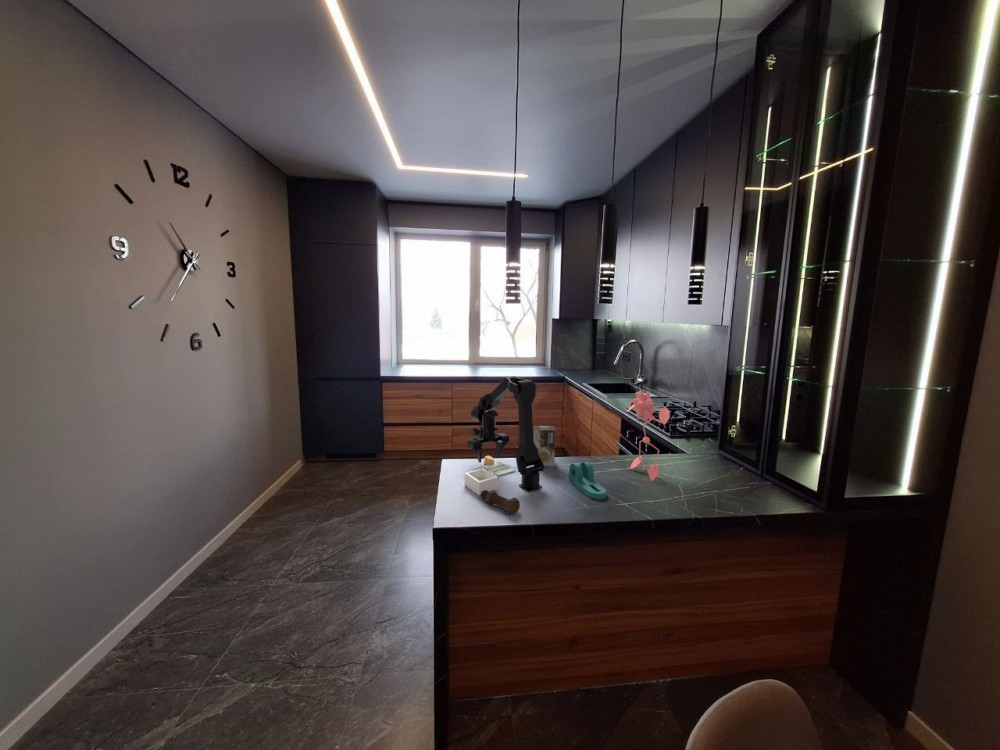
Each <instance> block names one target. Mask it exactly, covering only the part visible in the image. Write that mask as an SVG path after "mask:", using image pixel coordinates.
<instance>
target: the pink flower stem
mask: <svg viewBox="0 0 1000 750" xmlns="http://www.w3.org/2000/svg"><path fill="white" fill-rule="evenodd" d="M631 403H632V405H631V406H630V407H629V408H628V409H627V410H626V411H625V413H628V412H631V410H634V412H635V415H636V418H637V420H640V419H642V420H643V421H644V423H643V424H642V428H643V433H644V437H643V438H642V440H640V441H639V445H638V446H639V449H638V457H636V458H635V459H634V460H633V462H632V463H631V464H630V468H629V469H630V470H633V469H635V468H637V467H638V466H639V465H640V464H641V466H642V468H643V470H644V471H645V470H646V468H645V465H644V463H643V457H642V455H641V443H642V442H643V443H644V444H648V445H650V446H651V447H653V448H654V449H655V450H657V454H656V458H655V462H654V463H653V464H651V465H650V466H649V469H648V477H649V479H650V480H651V482H653V481H654V480H655V479H657V478H658V479H661V477H660V471H659V466H658V465H657V462H658V457H659V453H660V449H659V448H657V447H656V446H654V445H653V444H652V443H650V441H651V439H650V438H649V436H647V434H646V433H647V432H646V429H645V425H646V424H648V423H650V422H651V421H656V422H658V423H661V424H662V425H664V426H665V425H666V424H667V422H668V421H669V420H670V415H671V414H670V410H669V408H667V407H666V406H663V408H660V411H659V412H658V418H659V419H656V417H655V416H653V414H654V413H655V412H656V408H655V407H654V406H653V399H651V394H650V391H646V393H644V392H643V390H641V389H640V390H639V391H636V392H635V398H633V399H632V400H631ZM621 478H622V479H623V480H626V481H628V482H629V480H628V479H626V478H624V477H623V476H621ZM631 483H632V484H634V485H638V486H639V485H640V486H642V484H641V483H636V482H633V481H631ZM643 486H645V487H647V485H645V484H643Z"/></svg>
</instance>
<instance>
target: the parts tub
mask: <svg viewBox="0 0 1000 750" xmlns="http://www.w3.org/2000/svg"><path fill="white" fill-rule="evenodd" d="M498 479H499V476H496V475H494V474H492V473H491V472H489V471H487V470H486V469H484V468H483V467H482V468H478V469H475V470H471V471H468V472H467V471H466V472H464V486H465V487H466V486H467V487H466V488H467V489H469V490H470V489H471V490H470V491H472V492H473V493H475V494H476V495H477V496H479V495H480V494H481V492H482V491H484V490H487V491H492V490H494V491H495V490H496V491H498V487H499V486H498V485H499V483H498Z"/></svg>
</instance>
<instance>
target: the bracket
mask: <svg viewBox="0 0 1000 750" xmlns="http://www.w3.org/2000/svg"><path fill="white" fill-rule="evenodd" d="M568 471H569V473H568V480H569V482H570V483H572V484H573V485H574V486H575V487H577V489H579V490H580V491H581V492H582V493H583V494H584V495H586V496H587V497H588V498H590V499H592V498H593V500H604V499H606V497H607V490H606V489H605V487H603V486H602V485H600V484H599V483H598V482H597V481H596V480H594V476H595V475H594V474H595V471H594V467H593V465H592V463H591V462H590V461H585V462H581V463H579V462H576V463H575V462H574V463H573V462H572V463H571V464H570V465H569V470H568ZM603 498H604V499H603Z"/></svg>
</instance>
